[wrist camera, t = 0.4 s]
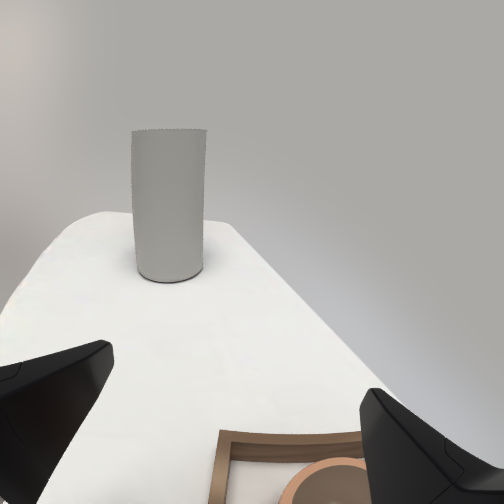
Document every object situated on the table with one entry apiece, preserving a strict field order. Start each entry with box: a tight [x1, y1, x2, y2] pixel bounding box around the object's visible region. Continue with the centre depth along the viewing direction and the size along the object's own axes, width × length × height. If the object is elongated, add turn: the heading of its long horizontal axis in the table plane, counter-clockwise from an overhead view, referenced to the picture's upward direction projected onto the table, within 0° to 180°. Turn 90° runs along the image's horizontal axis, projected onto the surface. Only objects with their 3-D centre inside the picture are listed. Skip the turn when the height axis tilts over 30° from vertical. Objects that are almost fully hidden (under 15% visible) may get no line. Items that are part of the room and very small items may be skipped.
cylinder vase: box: [131, 129, 207, 282], centre depth 46 cm, size 12×12×25 cm
